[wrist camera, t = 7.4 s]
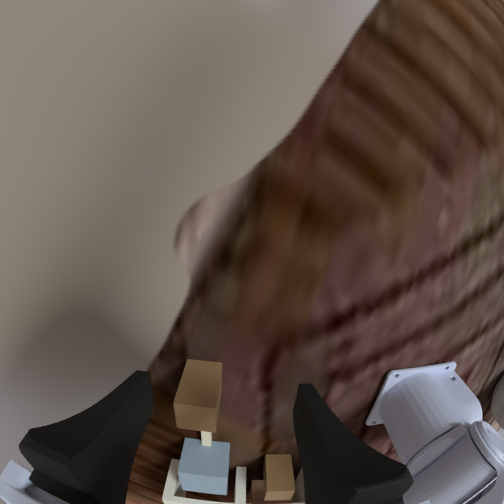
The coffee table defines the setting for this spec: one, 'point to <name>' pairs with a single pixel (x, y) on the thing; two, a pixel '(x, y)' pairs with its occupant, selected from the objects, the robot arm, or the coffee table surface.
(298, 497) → the shelf
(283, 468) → the tan block
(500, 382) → the teacup
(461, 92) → the coffee table surface
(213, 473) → the tan and blue dumbbell
